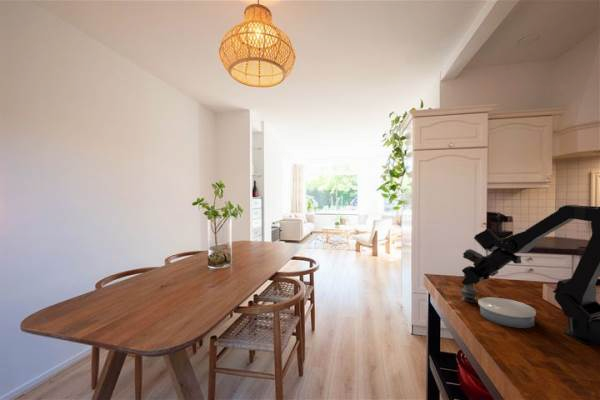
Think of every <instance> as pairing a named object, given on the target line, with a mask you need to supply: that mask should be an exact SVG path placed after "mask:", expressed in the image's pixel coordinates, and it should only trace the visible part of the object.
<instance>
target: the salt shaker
mask: <svg viewBox="0 0 600 400" xmlns="http://www.w3.org/2000/svg"><path fill="white" fill-rule="evenodd" d="M465 277H466V275H465V274H464V273H463V279H464V278H465ZM460 292H461V295H462V296H463V297H461V300H462V301H463V302H465V303H466V302H467V303H474V304H475V303H478V299H476V298H477V296H478V294H479V292H478V291H477V290H475V289H474V283H473V284H467V285H463V288H460Z"/></svg>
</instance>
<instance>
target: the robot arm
mask: <svg viewBox="0 0 600 400" xmlns="http://www.w3.org/2000/svg"><path fill="white" fill-rule="evenodd" d="M574 220H579V221H583V222H584V221H585V222H590V228H591V236H590V238H589V240H588V242H587V245H586V246H585V249H584V250H583V253H582V255H581V256H580V260H579V261H578V263H577V266H576V267H575V269H574V271H573V273H572V276H571V277H570V278H566V279H561V280H558V281H557V284H556V287H555V289H554V290H552V293H554V300H555V301H556V303H557V304H558V305H559V306H560V308H561V310H562V312H563V314H564V316H565V317H567V321H568V330H566V329H565V330H563V333H564V334H566V335H568V336H570V337H571V338H573V339H575V340H577V341H579V342H580V343H582V344H584V345H597V346H600V302H598V301H597V300H596V297H597V293H598V292H597V287H596V283H597V281H598V279H600V206H597V205H596V206H592V205H591V206H590V205H578V204H566V205H562V206H560V207H559V208H558V209H557V210H555V211H554V212H552V213H550V214H549V215H547V216H546V217H544V218H543V219H541V220H539V221H538V222H536V223H535V224H533V225H532V226H530V227H528V228H527V229H525V230H522V231H520V232H517V233H513V234H511V235H509V236H506V237H504V238H500V237H499V236H497V234H496V233H495V232H494V231H493V230H492V229H491V228H486V229H485V230H483V231H481V232H480V233H479V232H478V233H477V234H476V235H474V237H473V239H474V240H475V241H476V242H477V243H478V244H479V246H481V247H482V249H484V251H490V252H491V253H489V254H487V255H483V254H481V253H480V252H477V251H476V250H473V249H471V248H468V249H466V250H465V251H464V252H463V253H462V255H463V256H462V257H463V259H465V260H468V261H470V262H471V263H473V264H472V266H471V265H469V266H468V265H467V266H466V267H463V269H462V270H461V272H462V273H463V275H464V274H465V275H466V277H465V278H464V277H463V280H462V281H461V284H462V285H463V286H464V285H467V284H473V285H477V284H480V283H482V282H483V281H484V280H488V279H490V278H491V277H495V276H496V275H498V274H499V271H500V270H501V269H503V268H504V267H505V266H507V265H508V264H510V263H511V262H513V263H514V264H515V265H516V264H522V256H521V255H516V254H521V253H526V252H530V250H532V249H533V248H534V247H535V246H536V245H537V244H538V243H539V241H540V240H541V239H542V238H544V237H546V236H548V235H549V234H552V233H553V232H555V231H556V230H559V229H560V228H562V227H564V226H565V225H567V224H569V223H570V222H572V221H574Z"/></svg>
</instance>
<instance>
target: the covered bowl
mask: <svg viewBox="0 0 600 400" xmlns="http://www.w3.org/2000/svg"><path fill="white" fill-rule="evenodd" d="M477 301H478V302H477V303H478V306H479V308H480V310H479V312H480V315H481V316H482V317H483V318H485V320H486V319H487V320H488V321H490V322H493V323H496V324H498V325H502V326H506V327H510V328H511V327H512V328H518V329H519V328H520V329H529V328H532V327H534V326H535V316H536V315H537V310H536V309H535V308H534V307H532V306H530V305H528V304H525V303H523V302H520V301H517V300H513V299H509V298H503V297H501V298H500V297H492V296H491V297H489V296H488V297H482V298H479V299H477Z"/></svg>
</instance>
